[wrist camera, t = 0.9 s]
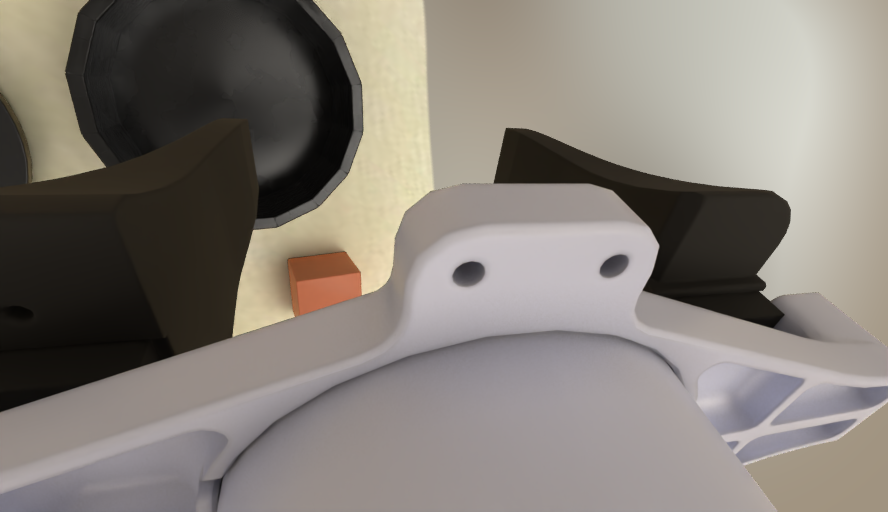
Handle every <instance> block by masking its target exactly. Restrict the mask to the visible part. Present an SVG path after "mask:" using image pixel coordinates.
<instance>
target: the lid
mask: <svg viewBox="0 0 888 512" xmlns="http://www.w3.org/2000/svg"><path fill="white" fill-rule="evenodd" d="M28 183H32V165H31V157H30V153H29V148H28V144H27V141H26V138H25V136H24V133H23V130H22V128H21V125H20V123H19V121H18V120H17V118H16V116H15V114H14V113H13V111H12V109H11V107H10V105H9V104H8V103H7V101H6V100H5V99H4V97H3V96H2V94H1V93H0V187H6V186H14V185H21V184H28Z"/></svg>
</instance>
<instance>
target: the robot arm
mask: <svg viewBox="0 0 888 512" xmlns="http://www.w3.org/2000/svg"><path fill="white" fill-rule="evenodd" d="M258 193H259V186H258V180H257V174H256V167H255V161H254V155H253V149H252V143H251V136H250V130H249V124H248V119H232V118H221V119H217V120H215V121H212V122H210V123H208V124H206V125H205V126H203V127H201V128H199V129H197V130H195V131H193V132H191V133H189V134H188V135H186V136H184V137H182V138H180V139H178V140H176V141H174V142H172V143H169V144H167V145H165V146H163V147H161V148H159V149H156V150H154V151H152V152H150V153H147V154H145V155H142V156H140V157H137V158H134V159H131V160H128V161H125V162H122V163H119V164H116V165H113V166H109V167H106V168H102V169H98V170H93V171H89V172H85V173H81V174H77V175H73V176H69V177H64V178H58V179H53V180H47V181H41V182H35V183H28V184H21V185H14V186H6V187H0V512H778V511H777V510H776V508H775V507H774V506H773V504H772V503H771V502H770V501H769V499H768V498H767V496H766V495H765V494H764V492H763V491H762V490H761V488H760V487H759V486H758V484H757V483H756V482H755V480H754V479H753V478H752V476H751V475H750V474H749V472H748V471H747V470H746V468H745V467H744V465H747V464H750V463H753V462H756V461H760V460H762V459H766V458H769V457H772V456H775V455H779V454H782V453H786V452H790V451H793V450H797V449H800V448H804V447H808V446H812V445H817V444H821V443H826V442H830V441H835V440H838V439H839V438H841V437H842V436H843V435H845V434H846V433H847V432H849V431H850V430H851V429H853V428H854V427H855V426H857V425H858V424H859V423H861V422H862V421H863V420H865V419H866V418H867V417H869V416H870V415H871V414H873V413H874V412H875V411H877V410H878V409H879V408H881V407H882V406H883V405H884V404H886V403H887V402H888V347H887V346H886V345H884V344H883V343H882V342H881V341H879V340H878V339H877V338H875V337H874V336H873V335H871V334H870V333H869V332H868V331H867V330H865V329H864V328H863V327H861V326H860V325H859V324H858V323H856V322H855V321H854V320H853V319H851V318H850V317H849V316H847V315H846V314H845V313H844V312H842V311H841V310H840V309H839V308H837V307H836V306H835V305H834V304H832V303H831V302H830V301H828V300H827V299H826V298H825V297H823V296H822V295H821V294H820V293H816V292H815V293H802V294H790V295H782V296H779V297H777V298H775V299H773V300H772V301H769V300H768V299H767V298H766V297H765V296H763V295H762V294H761V293H760V292H759V291H763V290H764V289H765V287H766V283H765V282H764V281H763V280H762V279H760V278H759V277H758V276H757V275H756V274H757V273H758V271H759V270H760V269H761V267H762V266H763V265H764V264H765V262H766V261H767V260H768V258H769V257H770V256H771V254H772V253H773V252H774V250H775V249H776V248H777V246H778V245H779V244H780V242H781V240H782V239H783V237H784V236H785V234H786V232H787V229H788V227H789V224H790V215H791V209H790V207H789V205H788V202H787V201H786V200H784V199H783V198H781V197H780V196H778V195H777V194H776V193H774V192H773V191H767V190H758V189H745V188H733V187H732V188H731V187H720V186H712V185H705V184H698V183H691V182H685V181H679V180H673V179H669V178H665V177H660V176H655V175H651V174H647V173H643V172H640V171H636V170H632V169H629V168H626V167H623V166H620V165H616V164H614V163H611V162H608V161H605V160H603V159H600V158H597V157H595V156H593V155H590V154H588V153H585V152H583V151H581V150H578V149H576V148H574V147H571V146H569V145H567V144H565V143H562V142H560V141H558V140H556V139H553V138H551V137H549V136H546V135H544V134H541V133H539V132H536V131H532V130H529V129H519V128H506V130H505V134H504V139H503V143H502V148H501V152H500V157H499V161H498V166H497V170H496V175H495V180H494V184H460V185H455V186H451V187H447V188H443V189H438V190H434V191H430V192H429V193H428V194H427V195H425V196H424V197H423V198H422V199H421V200H419V201H418V202H417V203H416V204H414V205H413V206H412V207H411V208H409V209H408V210H407V211H406V212H405V214H404V216H403V219H402V221H401V224H400V226H399V229H398V232H397V234H396V237H395V245H394V260H393V268H392V272H391V276H390V278H389V280H388V281H387V283H386V284H385V285H384V286H383V287H381V288H380V289H378V290H377V291H374V292H371V293H368V294H365V295H362V296H359V297H356V298H353V299H349V300H346V301H343V302H340V303H337V304H334V305H331V306H328V307H325V308H322V309H318V310H315V311H312V312H309V313H306V314H303V315H300V316H297V317H294V318H291V319H287V320H284V321H281V322H278V323H275V324H272V325H269V326H266V327H263V328H260V329H257V330H253V331H250V332H247V333H244V334H241V335H238V336H235V337H232V334H233V325H234V316H235V308H236V300H237V292H238V286H239V281H240V276H241V272H242V269H243V265H244V261H245V258H246V254H247V250H248V247H249V243H250V239H251V235H252V232H253V228H254V224H255V220H256V215H257V206H258Z"/></svg>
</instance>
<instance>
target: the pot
mask: <svg viewBox="0 0 888 512" xmlns="http://www.w3.org/2000/svg"><path fill="white" fill-rule="evenodd" d="M65 72H66V73H65V75H66V79H67V82H68V86H69V90H70V94H71V97H72V101H73V105H74V109H75V113H76V116H77V120H78V124H79V128H80V131H81V134H82V135H83V137H84V139H85V140H86V141H87V143H88V144H89V145H90V147H91V148H92V149H93V150H94V152H95V153H96V154H97V156H98V157H99V158H100V159H101V161H102V162H103V163H104V165H105V166H106V167H109V166H113V165H116V164H119V163H122V162H125V161H128V160H131V159H134V158H137V157H140V156H142V155H145V154H147V153H150V152H152V151H154V150H156V149H159V148H161V147H163V146H165V145H167V144H169V143H172V142H174V141H176V140H178V139H180V138H182V137H184V136H186V135H188V134H189V133H191V132H193V131H195V130H197V129H199V128H201V127H203V126H205V125H206V124H208V123H210V122H212V121H215V120H217V119H221V118H232V119H248V124H249V130H250V136H251V143H252V149H253V155H254V161H255V167H256V174H257V180H258V186H259V193H258V206H257V215H256V220H255V224H254V228H253V230H257V229H267V228H277V227H279V226H281V225H283V224H285V223H287V222H289V221H292V220H294V219H296V218H298V217H300V216H302V215H304V214H306V213H308V212H310V211H312V210H314V209H316V208H318V206H320V205H321V204H322V203H323V202H324V201H325V200H326V199H327V198H328V196H329V195H330V194H331V193H332V192H333V191H334V190H335V189H336V188H337V186H338V185H339V184H340V183H341V182H342V181H343V180H344V179H345V178H346V176H347V175H348V173H349V171H350V168H351V166H352V163H353V160H354V157H355V154H356V152H357V149H358V146H359V143H360V140H361V138H362V135H363V103H362V84H361V80H360V78H359V75H358V73H357V70H356V68H355V65H354V63H353V61H352V58H351V56H350V53H349V51H348V48H347V46H346V43H345V41H344V38H343V36H342V35H341V32H340V31H339V30H338V29H337V28H336V27H335V26H334V24H333V23H332V22H331V21H330V20H329V19H328V18H327V16H326V15H325V14H324V13H323V12H322V11H321V10H320V8H319V7H318V6H317V5H316V4H315V3H314V2H313V0H89V1H88V2H87V3H86V4H85V5H84V6H83V7H82V8H81V9H80V12H79V13H78V15H77V20H76V24H75V29H74V33H73V38H72V42H71V47H70V51H69V56H68V60H67V65H66V69H65Z"/></svg>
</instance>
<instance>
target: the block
mask: <svg viewBox="0 0 888 512" xmlns="http://www.w3.org/2000/svg"><path fill="white" fill-rule="evenodd" d="M288 269H289V278H290V288H291V297H292V306H293V312H294V315H295V317H297V316H300V315H303V314H306V313H309V312H312V311H315V310H318V309H322V308H325V307H328V306H331V305H334V304H337V303H340V302H343V301H346V300H349V299H353V298H356V297H359V296H362V294H361V272H360V271H359V270H358V268H357V267H356V265H355V264H354V263H353V261H352V260H351V259H350V257H349V256H348V254H347V253H346V252H339V253H331V254H323V255H315V256H307V257H299V258H291V259H288Z"/></svg>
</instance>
